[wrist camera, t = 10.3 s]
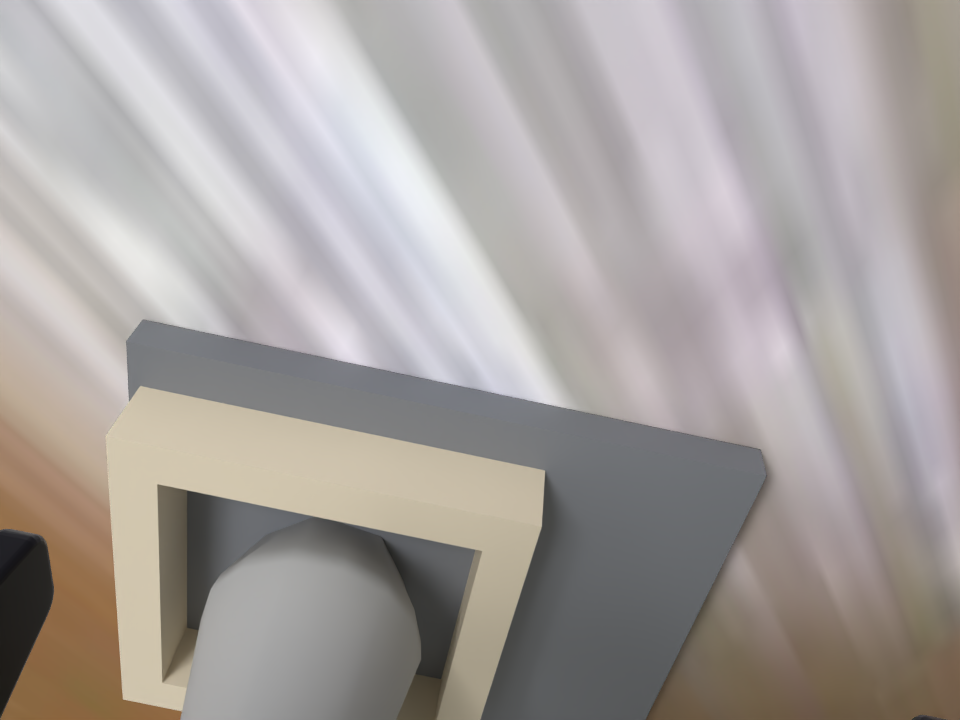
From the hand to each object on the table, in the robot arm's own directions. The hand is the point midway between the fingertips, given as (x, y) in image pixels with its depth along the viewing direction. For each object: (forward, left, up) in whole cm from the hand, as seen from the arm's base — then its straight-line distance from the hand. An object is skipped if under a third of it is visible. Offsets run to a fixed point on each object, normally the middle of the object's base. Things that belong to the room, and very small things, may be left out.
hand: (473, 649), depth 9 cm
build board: (+1, +13, -13) cm, 18 cm away
